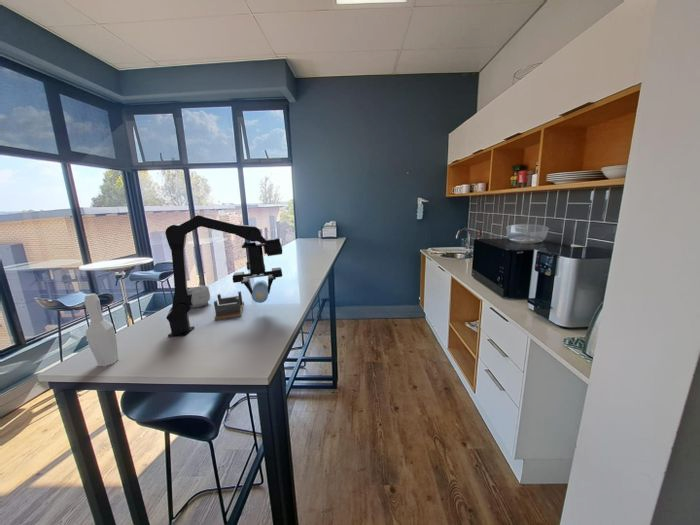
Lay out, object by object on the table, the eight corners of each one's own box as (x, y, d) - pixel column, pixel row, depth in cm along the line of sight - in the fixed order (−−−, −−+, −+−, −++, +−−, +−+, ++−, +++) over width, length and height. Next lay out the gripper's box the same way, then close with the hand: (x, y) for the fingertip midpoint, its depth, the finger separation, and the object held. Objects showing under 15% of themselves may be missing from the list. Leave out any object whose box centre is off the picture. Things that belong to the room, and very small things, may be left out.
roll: (268, 301, 108) (267, 287, 106) (252, 304, 106) (250, 289, 105) (268, 292, 119) (267, 279, 118) (254, 294, 118) (252, 280, 116)
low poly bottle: (125, 354, 88) (108, 289, 83) (117, 364, 83) (99, 296, 78) (100, 359, 86) (81, 293, 81) (91, 370, 80) (70, 300, 75)
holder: (240, 316, 114) (238, 300, 112) (214, 320, 111) (211, 304, 109) (243, 303, 129) (241, 289, 127) (220, 306, 126) (218, 292, 124)
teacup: (203, 309, 124) (200, 292, 122) (180, 310, 125) (177, 293, 123) (218, 298, 138) (216, 283, 136) (197, 299, 138) (194, 284, 136)
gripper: (279, 252, 119) (282, 286, 122) (233, 256, 114) (238, 292, 117) (280, 256, 108) (284, 293, 112) (229, 262, 103) (235, 300, 107)
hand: (260, 294), depth 112 cm, fingers closed on roll, 6 cm apart
